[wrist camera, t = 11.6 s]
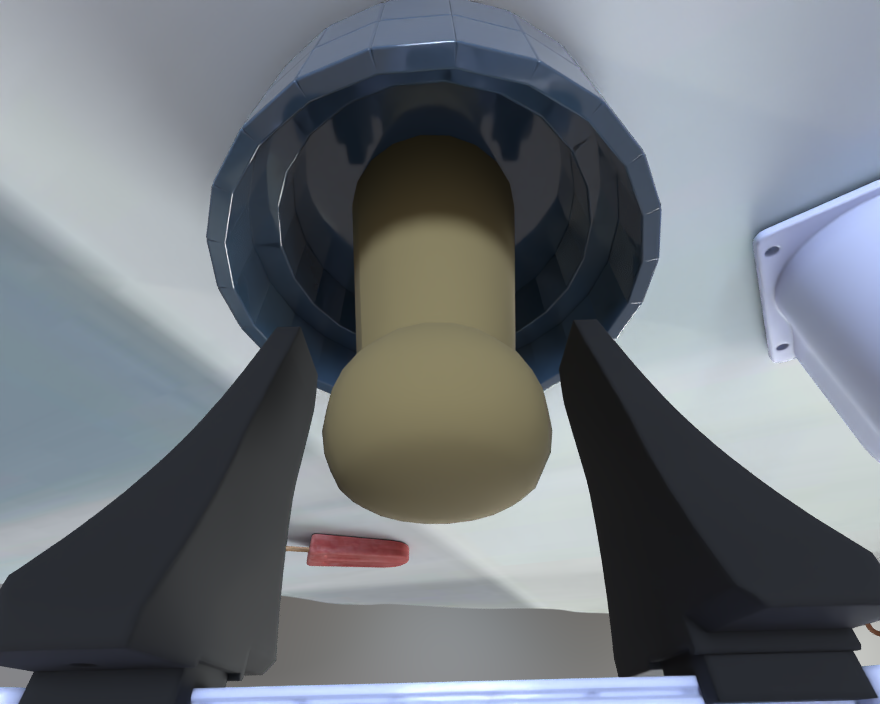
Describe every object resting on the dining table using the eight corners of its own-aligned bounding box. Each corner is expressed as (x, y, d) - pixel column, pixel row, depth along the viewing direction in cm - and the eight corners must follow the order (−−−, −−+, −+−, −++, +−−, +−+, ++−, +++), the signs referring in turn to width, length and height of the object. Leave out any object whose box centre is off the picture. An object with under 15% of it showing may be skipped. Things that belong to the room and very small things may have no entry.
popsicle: (253, 548, 39) (413, 557, 43) (257, 529, 41) (413, 539, 44) (253, 563, 43) (403, 570, 46) (258, 545, 44) (403, 553, 47)
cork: (546, 218, 16) (641, 501, 9) (432, 303, 20) (436, 565, 12) (435, 91, 13) (445, 372, 6) (319, 216, 16) (229, 505, 9)
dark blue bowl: (650, 247, 18) (700, 332, 15) (402, 363, 23) (398, 445, 20) (509, -147, 10) (550, -154, 7) (176, 165, 15) (106, 250, 12)
